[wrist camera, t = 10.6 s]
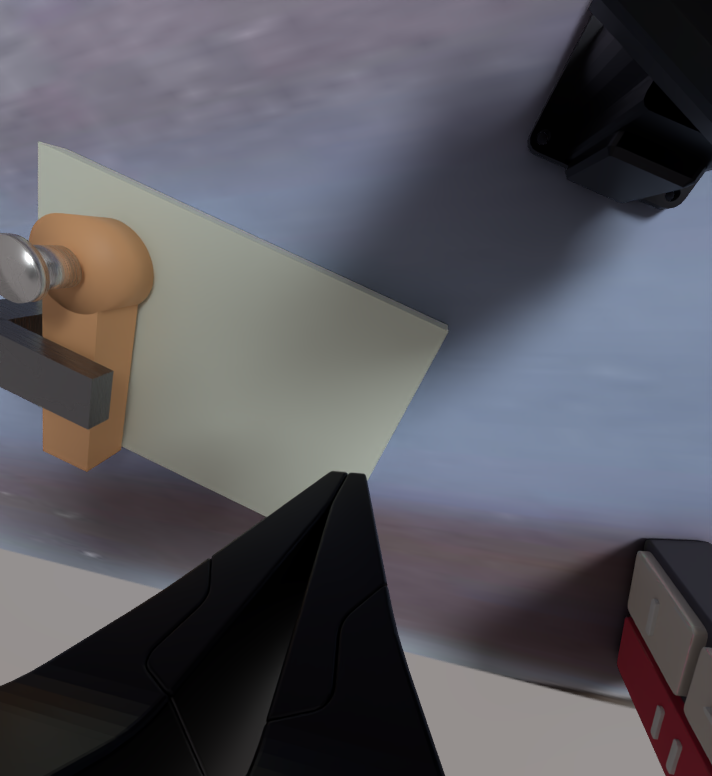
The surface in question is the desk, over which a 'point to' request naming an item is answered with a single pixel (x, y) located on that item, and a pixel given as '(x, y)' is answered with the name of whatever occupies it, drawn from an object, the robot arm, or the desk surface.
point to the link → (94, 322)
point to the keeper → (32, 351)
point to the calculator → (672, 652)
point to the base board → (248, 347)
